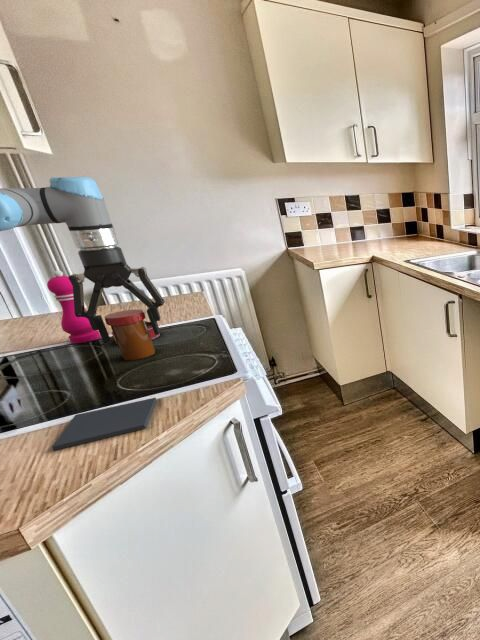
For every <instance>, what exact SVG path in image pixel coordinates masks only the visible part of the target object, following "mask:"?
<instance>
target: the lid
mask: <svg viewBox="0 0 480 640" xmlns="http://www.w3.org/2000/svg"><path fill="white" fill-rule="evenodd" d="M146 318H147V316H146V314H145V312H144V310H143V309H139V308H138V309H137V308H135V309H126V310H120V311H116V312H112V313H109V314H106V315H105V316H104V321H105V324H106V326H110V327H111V326H117V325H125V324H130V323H135V322H138V321H141V320H143V319H144V320H145V319H146Z"/></svg>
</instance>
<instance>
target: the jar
mask: <svg viewBox="0 0 480 640" xmlns="http://www.w3.org/2000/svg"><path fill="white" fill-rule="evenodd" d="M145 321H146V320H145V319H143V320H141V321H138V322H135V323H130V324H125V325H117V326H110V328H111V331H112V332H113V333H114V336H115V338H116V341H117V344H116V345H117V346H118V348H119V351H120V353H121V356H122V359H123V360H125V361H134V360H140V359H145V358H148V357H151V356H153V355H155V354H156V348H155V346H154V343H153V340H152V339H151V338H150V335H149V332H148V330H147V327H146V324H145Z"/></svg>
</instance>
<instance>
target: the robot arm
mask: <svg viewBox="0 0 480 640" xmlns="http://www.w3.org/2000/svg"><path fill="white" fill-rule="evenodd" d="M48 182H49V186H46V187H12V188H11V187H10V188H9V187H2V188H1V187H0V232H5V231H8V230H9V231H10V230H12V229H15V228H20V227H26V226H37V225H49V224H50V225H51V224H64V223H65V224H66V227H67V229H68V231H69V234H70V237H71V239H72V242H73V243H74V246H75V248H76V249H80V250H78V252H77V254H78V257H79V259H80V261H81V264H82V267H83V272H82V273H72V274H71V275H68V276H69V277H68V278H69V280H70V282H71V284H72V285H73V297H74V311H75V316H76V317H86V318H87V319H88V320H89V322H90V325H91V327H92V329H93V330H94V331H96V330H97V331H99V333H100V336H101V337H100V338H101V340H102V342H103V344H109V342H110V341H111V340H112V339H111V337H110V335H109V332H108V330H107V329H108V328H106V325H105V324H106V323H104V319H103V317H102V315H101V314H98V315H97V311H98V308H99V304H100V300H101V298H102V294H103V291H104V289H109V288H112V287H115V288H119V287H123V288H124V289H125V290H128V291H129V292H130V293H131V294H132V295H133V296H134V297H136V298H137V299H138V300H139V301H140V302H141V303H142V304H144V305H145V306H146V307H147V309H146V314H147V316H148V319H149V322H151V325H152V328H153V331H154V333H155V335H159V333H160V334H161V329H160V327H159V323H158V322H160V321H161V313H160V312H159V309H158V308H159V307H162V306H164V304H165V302H166V301H165V299H164V298H163V296H162V295H161V293H160V292H159V291H158V289H157V287H156V286H155V285H154V283H153V282H152V281H151V279H150V277H149V276H148V272H147V268H146V267H145V266H141V267H131V266H129V265H128V263H127V261H126V258H125V255H124V253H123V250H122V247H120V246H118V245H119V244H120V242H119V239H118V236H117V233H116V230H115V228H114V224H113V222H112V220H111V216H110V214H109V211H108V209H107V205H106V202H105V199H104V198H105V197H103V195H102V193H101V191H100V188H99V186H98V183H97V181H96V180H94V179H93V178H91V177H89V176H66V177H65V176H62V177H59V176H58V177H51V178H49V181H48ZM131 274H133V275H134V276H135V277H136V278H139V280H140V281H141V283H142V284H143V286H144V287H145V289H146V290H147V291H148V293H149V295H150V296H151V297H152V299H153V300H154V301H153V300H152V299H151V298H150V296H148V295H147V294H146V293H144V291H142V290H141V289H140V288H139V287H138V286H137V285H135V284H134V282H133V281H132V280H131V279H130V276H131ZM85 279H87V280H89V281H90V282H92V283H93V284H94V285H93V287H92V288H93V289H92V293H91V297H90V301H89V304H88V306H87V307H88V308H87V310H86V308H85V293H84V284H83V283H84V282H86V281H85ZM85 310H86V311H85ZM159 336H160V335H159Z"/></svg>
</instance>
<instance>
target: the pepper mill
mask: <svg viewBox="0 0 480 640" xmlns="http://www.w3.org/2000/svg"><path fill="white" fill-rule="evenodd" d="M69 276H70V275H64V272H63V271H61V270H55V271H53V277H51V278H50V279H48V281H47V283H46V287H47V289H48V291H49V292H51V293H53V294H54V298H55V301H56V302H59V304H60V306H61V310H62V317H61V320H60V323H61V329H62V331H63V332H65V333H66V334H68V335H69V336H68V339H69V341H70V343H72V344H83V343H90V342H92V341H93V342H94V341H96V340H98V339H100V338H101V335H100V333H99V330H96V331H94V330H93V329H92V327H91V325H90V322H89V320H88V319H87V318H86V317H76V316H75V311H74V297H73V285H72V284H71V282H70V280H69V278H68V277H69ZM85 311H87V309H85Z"/></svg>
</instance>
